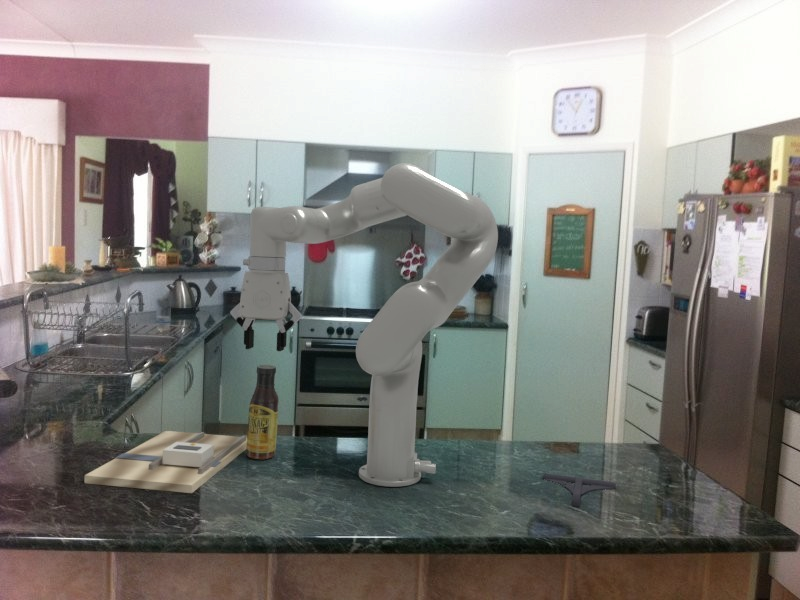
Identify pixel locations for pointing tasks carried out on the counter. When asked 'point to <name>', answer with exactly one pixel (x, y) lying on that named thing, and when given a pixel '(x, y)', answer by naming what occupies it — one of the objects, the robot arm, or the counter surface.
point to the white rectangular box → (188, 454)
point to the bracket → (579, 485)
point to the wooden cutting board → (150, 473)
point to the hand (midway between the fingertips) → (264, 348)
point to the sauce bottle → (263, 416)
